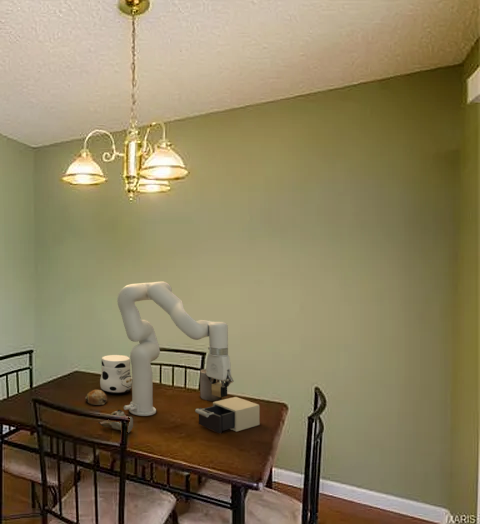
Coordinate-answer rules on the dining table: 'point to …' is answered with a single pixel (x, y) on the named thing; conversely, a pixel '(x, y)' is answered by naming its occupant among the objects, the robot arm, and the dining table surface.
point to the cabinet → (241, 412)
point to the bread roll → (96, 397)
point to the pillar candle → (206, 387)
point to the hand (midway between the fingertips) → (219, 394)
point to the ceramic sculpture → (116, 424)
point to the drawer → (216, 418)
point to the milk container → (116, 374)
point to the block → (216, 389)
